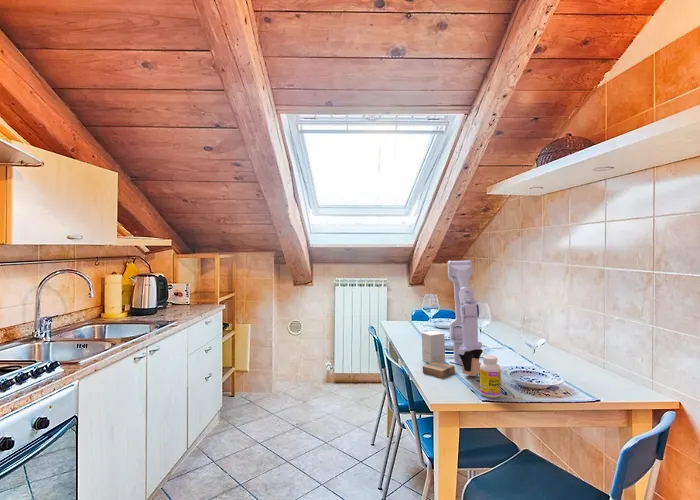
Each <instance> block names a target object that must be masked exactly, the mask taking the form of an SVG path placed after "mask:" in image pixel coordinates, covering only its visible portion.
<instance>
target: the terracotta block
mask: <svg viewBox="0 0 700 500" xmlns="http://www.w3.org/2000/svg"><path fill="white" fill-rule="evenodd" d="M462 374H465V375H467V376H472V377H474V376H476V375H478V374H480V358H479V359H477V358H472V362H471V371H470V372H469V371H465V370H464V366H463V365H462Z"/></svg>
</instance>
